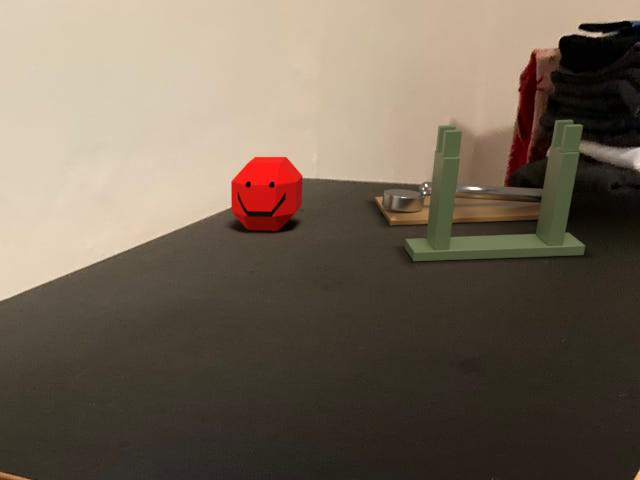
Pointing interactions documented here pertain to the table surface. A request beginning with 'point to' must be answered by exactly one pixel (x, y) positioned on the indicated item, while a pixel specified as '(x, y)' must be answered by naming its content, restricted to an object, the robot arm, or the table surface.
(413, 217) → the brown wooden board
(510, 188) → the ladle
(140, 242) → the table surface
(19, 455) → the table surface
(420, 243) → the rack
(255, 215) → the ball
